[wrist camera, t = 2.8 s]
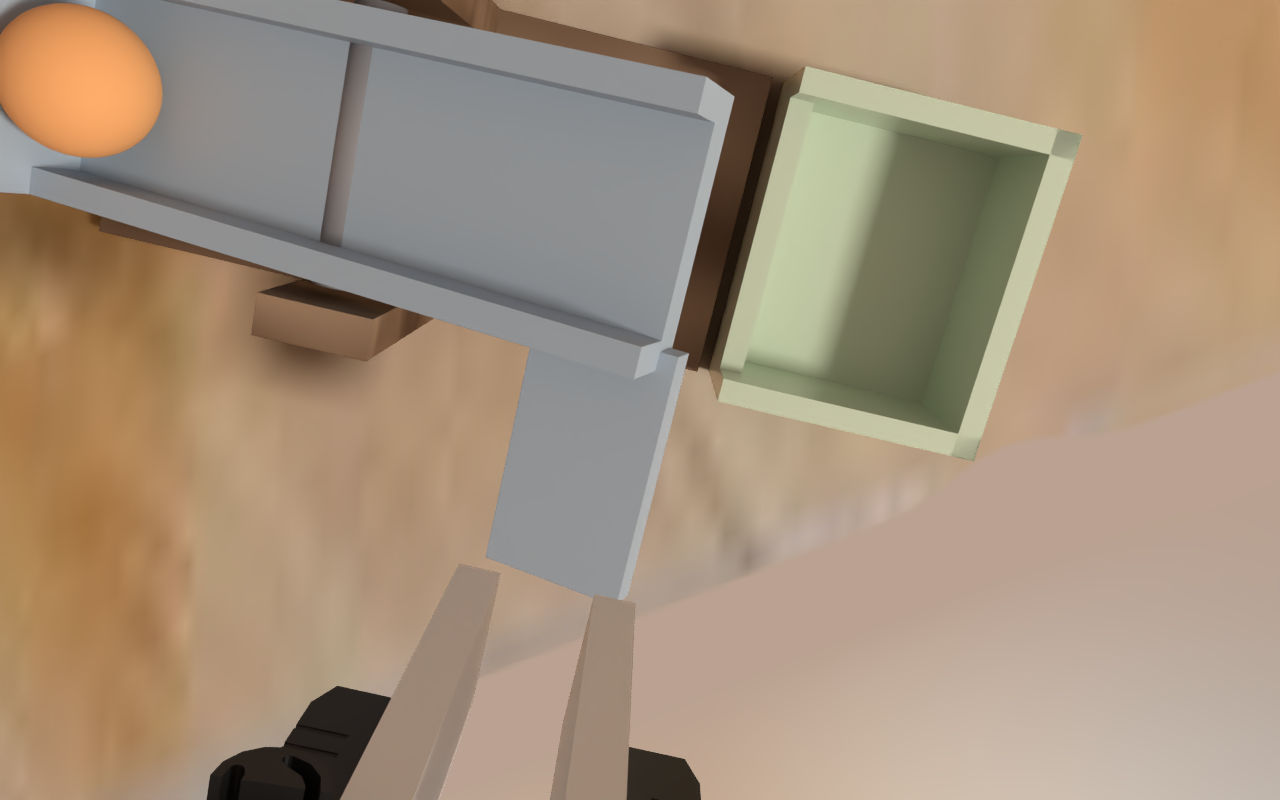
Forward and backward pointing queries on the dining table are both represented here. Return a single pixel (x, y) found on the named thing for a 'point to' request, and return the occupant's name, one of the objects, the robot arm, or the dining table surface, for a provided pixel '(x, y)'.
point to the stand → (374, 325)
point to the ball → (78, 80)
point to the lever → (442, 217)
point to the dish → (887, 261)
